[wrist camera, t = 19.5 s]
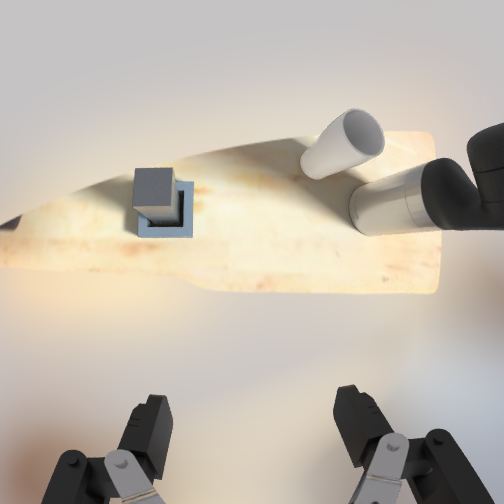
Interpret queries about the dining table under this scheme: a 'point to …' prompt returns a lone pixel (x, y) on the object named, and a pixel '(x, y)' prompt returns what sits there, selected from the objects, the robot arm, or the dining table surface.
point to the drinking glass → (344, 145)
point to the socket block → (171, 232)
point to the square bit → (157, 195)
